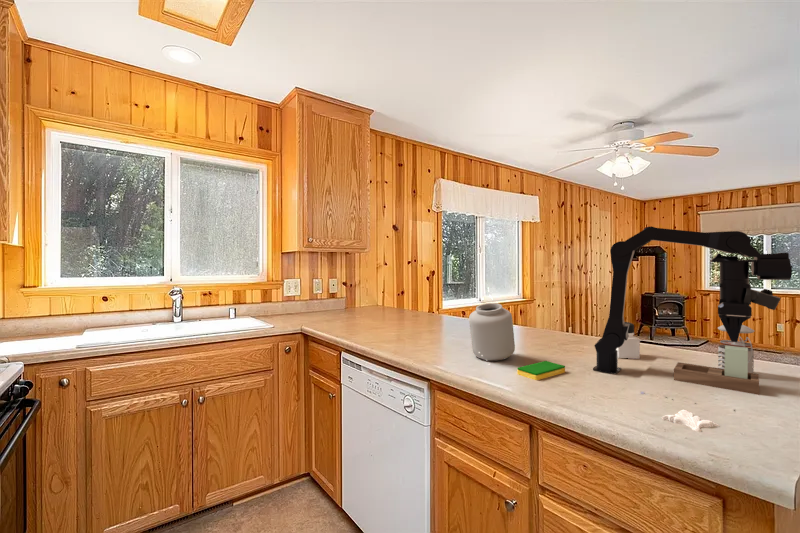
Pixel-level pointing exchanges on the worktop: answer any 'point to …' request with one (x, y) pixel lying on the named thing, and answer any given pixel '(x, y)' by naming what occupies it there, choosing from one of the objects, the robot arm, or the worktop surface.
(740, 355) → the green block
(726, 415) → the worktop surface
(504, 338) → the jar
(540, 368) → the dish sponge
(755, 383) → the pocket holder
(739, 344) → the french press
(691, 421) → the acanthus leaf ornament
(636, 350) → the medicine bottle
